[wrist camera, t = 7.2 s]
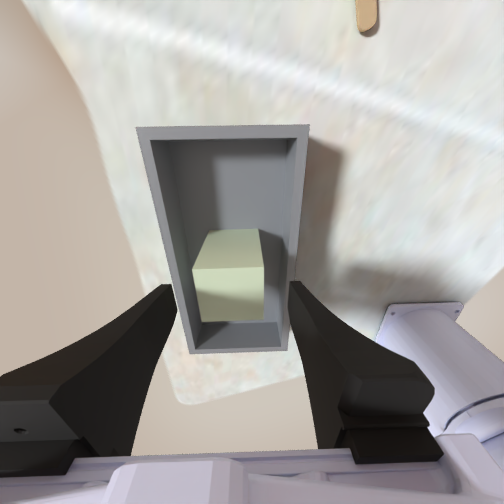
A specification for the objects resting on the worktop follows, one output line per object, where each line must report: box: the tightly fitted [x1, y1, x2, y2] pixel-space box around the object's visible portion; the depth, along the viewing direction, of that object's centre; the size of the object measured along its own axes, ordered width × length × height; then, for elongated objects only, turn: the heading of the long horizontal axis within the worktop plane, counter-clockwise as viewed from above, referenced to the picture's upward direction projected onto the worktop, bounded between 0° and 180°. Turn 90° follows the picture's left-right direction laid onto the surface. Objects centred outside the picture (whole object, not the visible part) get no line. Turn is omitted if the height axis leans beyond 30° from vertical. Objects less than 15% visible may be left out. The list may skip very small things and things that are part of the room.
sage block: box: [192, 229, 264, 322], centre depth 15 cm, size 4×4×6 cm
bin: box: [136, 124, 310, 354], centre depth 17 cm, size 18×9×4 cm, turn 1°
